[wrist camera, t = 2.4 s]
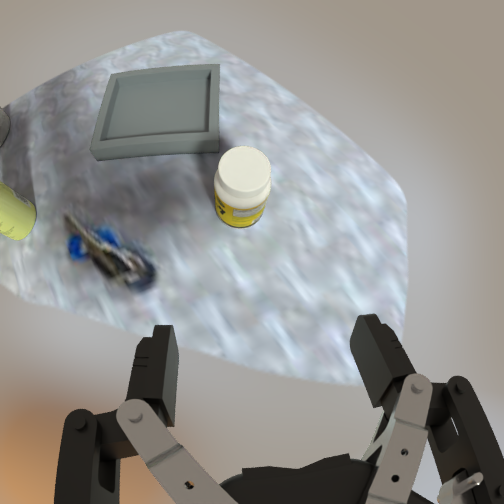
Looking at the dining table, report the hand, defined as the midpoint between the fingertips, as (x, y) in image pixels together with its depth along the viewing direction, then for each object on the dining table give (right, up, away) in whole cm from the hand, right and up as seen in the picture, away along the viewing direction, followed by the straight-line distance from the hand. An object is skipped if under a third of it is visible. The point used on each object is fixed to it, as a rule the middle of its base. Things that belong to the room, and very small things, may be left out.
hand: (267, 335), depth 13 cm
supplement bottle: (-2, +8, +18) cm, 20 cm away
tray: (-12, +20, +19) cm, 30 cm away
